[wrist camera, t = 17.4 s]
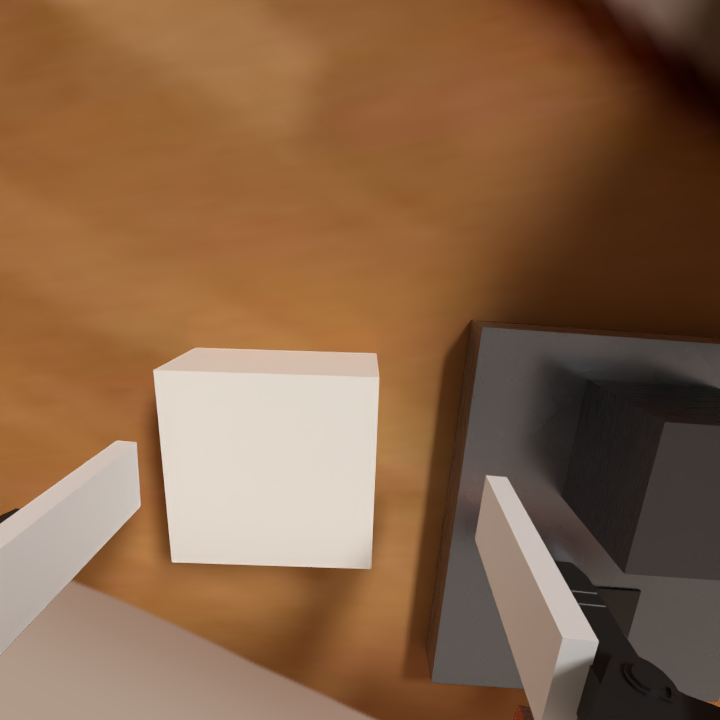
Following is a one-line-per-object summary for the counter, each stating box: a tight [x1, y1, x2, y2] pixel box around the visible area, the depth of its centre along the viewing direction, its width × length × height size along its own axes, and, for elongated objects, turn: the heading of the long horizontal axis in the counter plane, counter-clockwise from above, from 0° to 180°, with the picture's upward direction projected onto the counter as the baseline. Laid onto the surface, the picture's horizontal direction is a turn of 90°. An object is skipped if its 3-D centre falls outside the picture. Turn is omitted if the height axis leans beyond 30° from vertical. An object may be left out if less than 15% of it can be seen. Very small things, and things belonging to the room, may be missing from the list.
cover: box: [153, 348, 379, 569], centre depth 20 cm, size 9×9×4 cm
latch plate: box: [426, 320, 720, 702], centre depth 19 cm, size 20×16×7 cm
